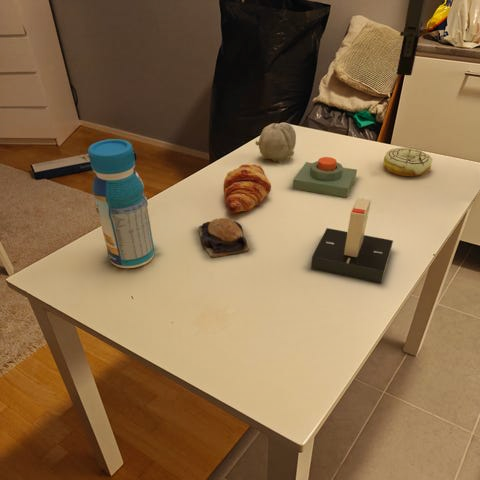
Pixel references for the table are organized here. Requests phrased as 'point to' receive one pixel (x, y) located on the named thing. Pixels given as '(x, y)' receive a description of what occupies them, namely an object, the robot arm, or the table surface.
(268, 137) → the grey rounded lump
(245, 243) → the chocolate dessert
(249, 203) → the croissant
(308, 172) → the button housing
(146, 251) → the beverage bottle
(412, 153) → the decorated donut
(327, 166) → the button
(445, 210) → the table surface
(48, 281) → the table surface
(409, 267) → the table surface
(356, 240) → the knob
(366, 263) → the dial panel
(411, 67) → the robot arm
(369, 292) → the table surface
